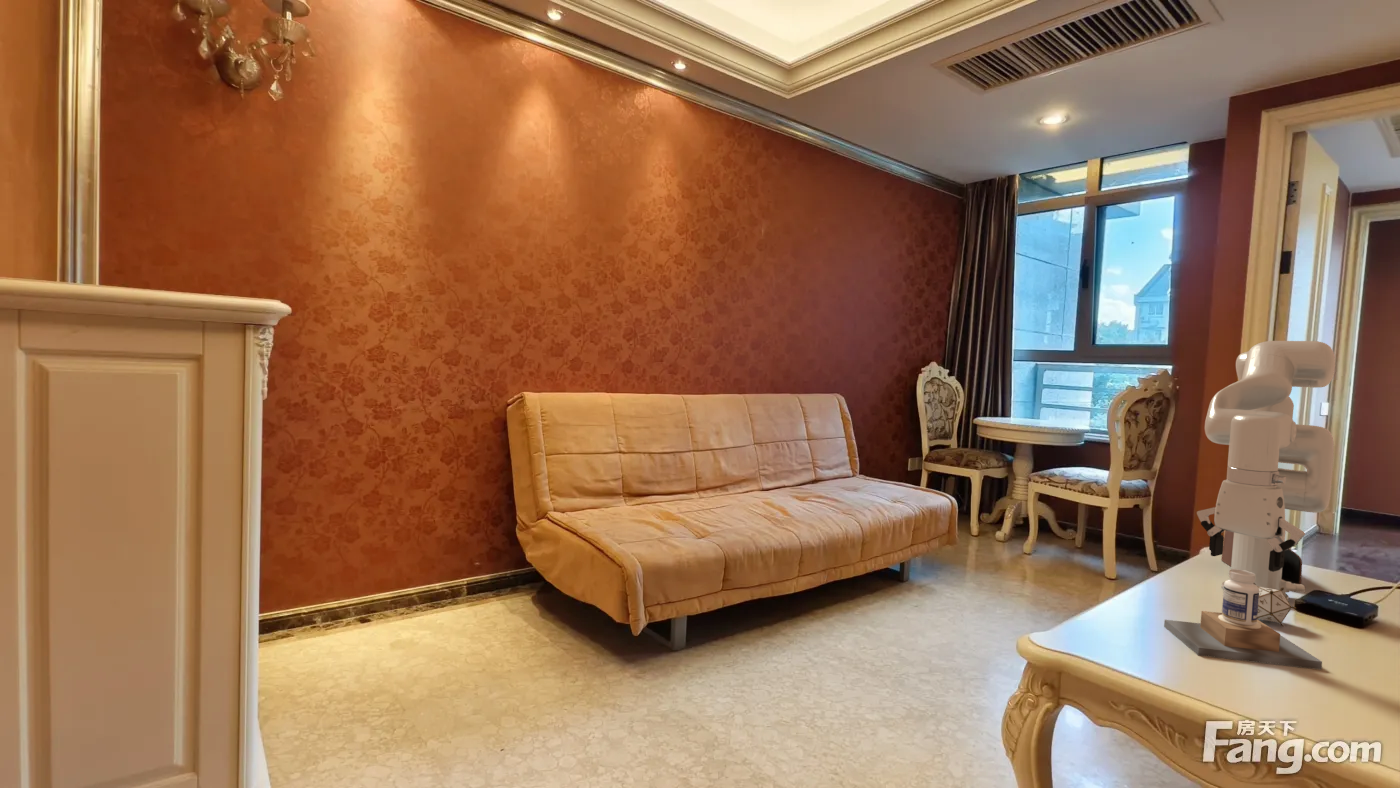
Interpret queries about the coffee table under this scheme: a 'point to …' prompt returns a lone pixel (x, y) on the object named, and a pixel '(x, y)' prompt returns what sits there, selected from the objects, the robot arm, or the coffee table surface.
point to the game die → (1272, 605)
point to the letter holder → (1289, 570)
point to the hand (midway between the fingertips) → (1244, 562)
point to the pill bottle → (1240, 598)
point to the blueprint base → (1240, 653)
